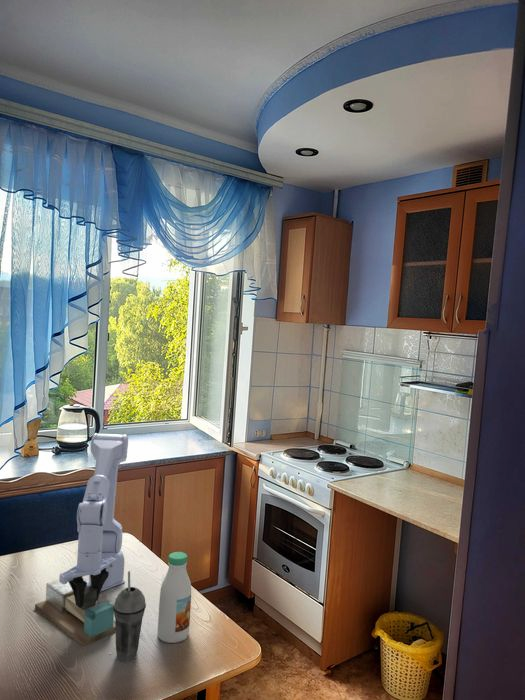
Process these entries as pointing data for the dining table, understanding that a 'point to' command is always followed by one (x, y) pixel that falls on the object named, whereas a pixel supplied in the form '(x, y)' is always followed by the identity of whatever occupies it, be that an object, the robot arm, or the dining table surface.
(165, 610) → the milk bottle
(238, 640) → the dining table surface
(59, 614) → the base board
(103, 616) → the socket
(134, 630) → the beverage cup
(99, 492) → the robot arm
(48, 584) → the sleeve
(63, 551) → the dining table surface
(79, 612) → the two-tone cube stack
